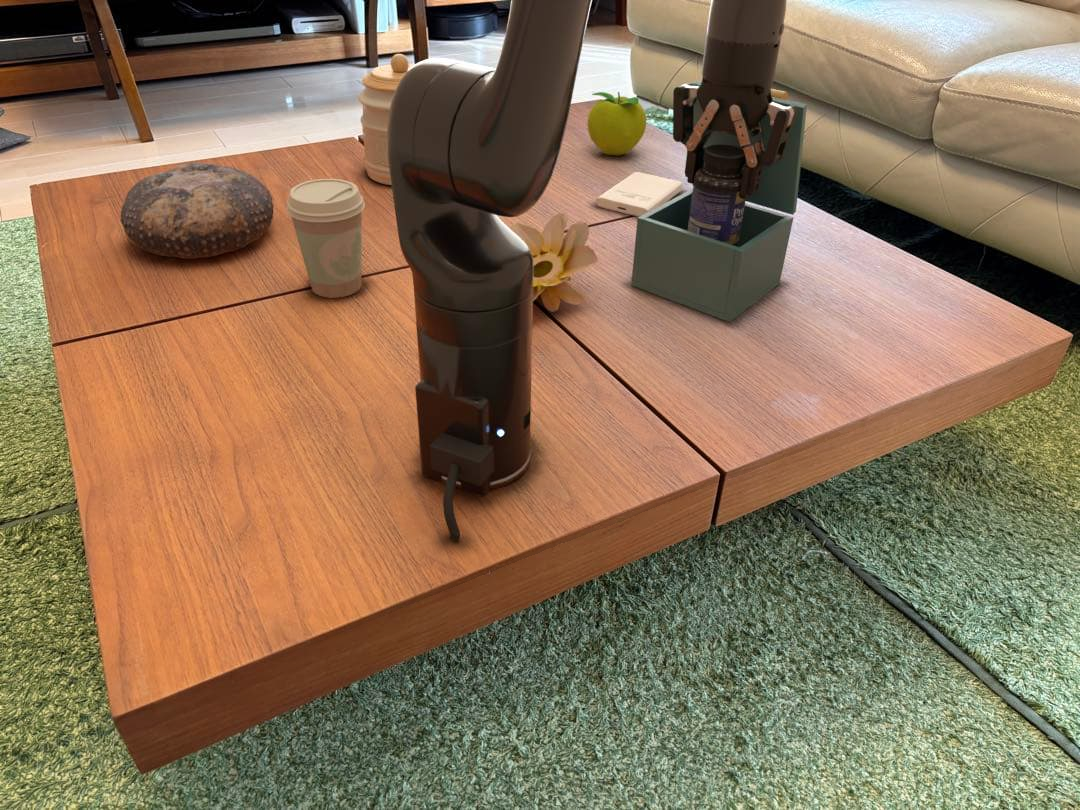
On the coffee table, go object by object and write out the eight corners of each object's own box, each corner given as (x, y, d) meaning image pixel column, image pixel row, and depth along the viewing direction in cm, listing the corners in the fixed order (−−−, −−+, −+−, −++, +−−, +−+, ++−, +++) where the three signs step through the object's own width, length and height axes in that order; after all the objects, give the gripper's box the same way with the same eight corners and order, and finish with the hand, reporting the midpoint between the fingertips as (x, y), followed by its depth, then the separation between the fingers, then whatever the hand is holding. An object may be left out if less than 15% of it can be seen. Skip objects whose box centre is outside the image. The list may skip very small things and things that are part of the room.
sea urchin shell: (112, 271, 100) (90, 187, 96) (147, 234, 117) (129, 161, 113) (272, 257, 104) (258, 176, 99) (284, 223, 120) (272, 152, 116)
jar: (354, 165, 133) (341, 48, 123) (430, 154, 138) (424, 40, 128) (382, 193, 124) (370, 69, 114) (462, 180, 129) (458, 60, 119)
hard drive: (681, 192, 127) (646, 219, 118) (633, 180, 130) (596, 206, 122) (683, 181, 126) (648, 208, 117) (634, 170, 129) (596, 195, 121)
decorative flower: (452, 262, 102) (470, 184, 96) (531, 264, 108) (552, 192, 102) (503, 326, 92) (527, 243, 86) (588, 325, 97) (614, 248, 92)
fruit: (615, 166, 135) (620, 103, 130) (576, 151, 141) (579, 90, 135) (653, 155, 140) (660, 94, 134) (614, 140, 146) (618, 81, 140)
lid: (803, 107, 88) (826, 85, 90) (692, 83, 94) (715, 63, 97) (792, 215, 97) (813, 192, 100) (692, 186, 104) (714, 165, 107)
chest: (729, 322, 95) (742, 251, 90) (630, 285, 102) (637, 217, 97) (779, 284, 103) (793, 217, 98) (684, 252, 110) (693, 187, 105)
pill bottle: (737, 256, 96) (753, 162, 90) (684, 250, 97) (696, 157, 91) (738, 234, 101) (753, 144, 95) (687, 229, 102) (699, 139, 95)
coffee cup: (316, 310, 95) (300, 211, 88) (290, 281, 101) (273, 185, 94) (385, 292, 99) (375, 195, 92) (356, 264, 105) (344, 171, 98)
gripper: (664, 26, 87) (649, 182, 96) (792, 50, 79) (761, 216, 89) (701, 16, 91) (683, 166, 101) (825, 37, 84) (792, 196, 94)
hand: (720, 188), depth 95 cm, fingers closed on pill bottle, 6 cm apart
